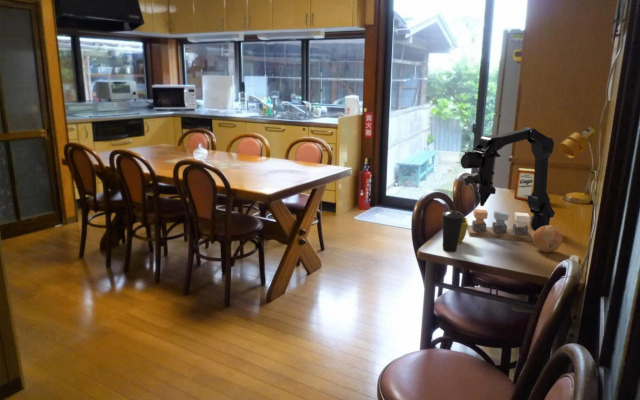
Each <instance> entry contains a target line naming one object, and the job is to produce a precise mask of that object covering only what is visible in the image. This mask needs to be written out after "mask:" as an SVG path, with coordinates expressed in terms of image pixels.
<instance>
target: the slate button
mask: <svg viewBox="0 0 640 400" xmlns="http://www.w3.org/2000/svg"><path fill="white" fill-rule="evenodd" d="M509 215H510V214H509V213H508V211H503V210H494V211H493V219H494V220H495V222H496V225H500V226H504V223H505V221H509V217H510V216H509Z"/></svg>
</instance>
